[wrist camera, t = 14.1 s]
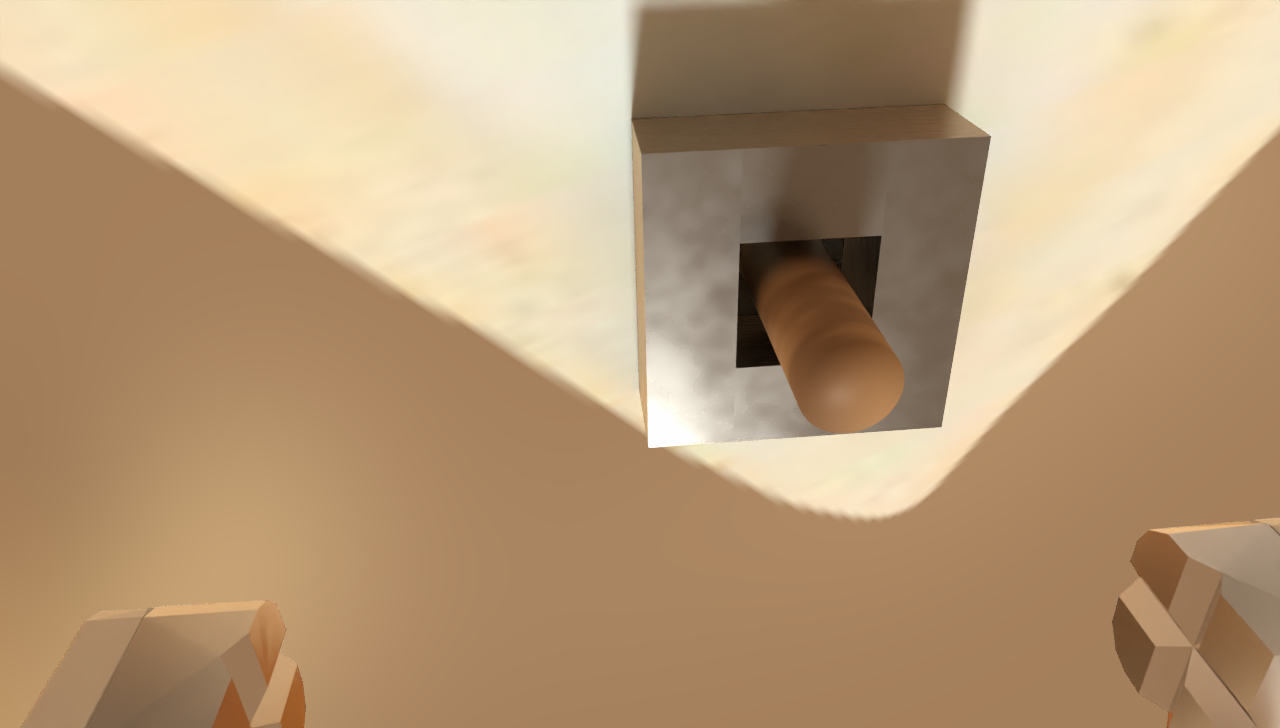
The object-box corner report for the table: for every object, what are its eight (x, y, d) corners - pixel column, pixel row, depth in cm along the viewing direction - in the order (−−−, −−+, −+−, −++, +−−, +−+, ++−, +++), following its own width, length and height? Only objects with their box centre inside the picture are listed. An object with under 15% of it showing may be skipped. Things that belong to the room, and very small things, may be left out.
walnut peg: (824, 215, 43) (911, 337, 33) (817, 292, 45) (897, 429, 35) (740, 220, 43) (800, 343, 32) (737, 296, 45) (793, 436, 34)
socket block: (944, 104, 41) (990, 136, 37) (906, 373, 48) (941, 427, 44) (631, 119, 40) (641, 153, 36) (639, 391, 47) (648, 447, 43)
